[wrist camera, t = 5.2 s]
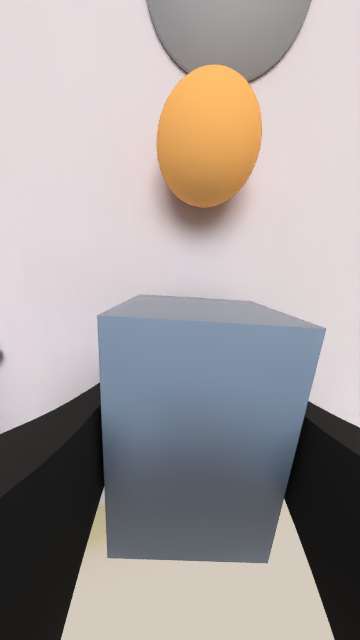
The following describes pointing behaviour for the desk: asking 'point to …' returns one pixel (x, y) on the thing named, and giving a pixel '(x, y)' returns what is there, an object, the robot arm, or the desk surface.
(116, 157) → the desk surface
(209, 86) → the ball
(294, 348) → the blue-grey rectangular block
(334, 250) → the desk surface
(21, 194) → the desk surface
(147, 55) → the desk surface
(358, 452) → the robot arm
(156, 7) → the rest mark
